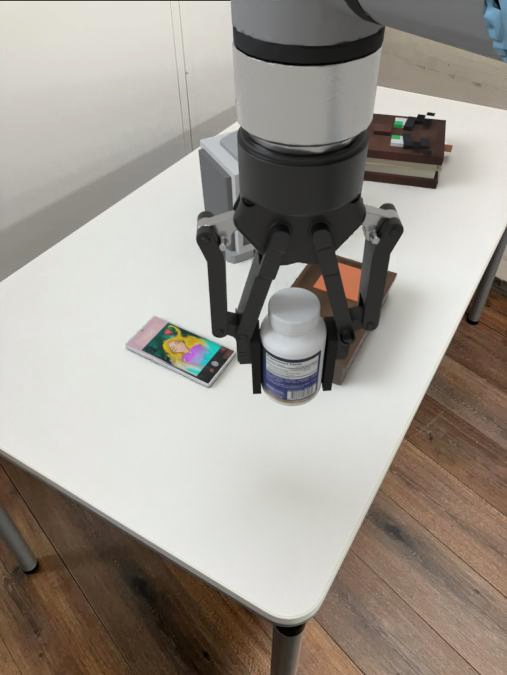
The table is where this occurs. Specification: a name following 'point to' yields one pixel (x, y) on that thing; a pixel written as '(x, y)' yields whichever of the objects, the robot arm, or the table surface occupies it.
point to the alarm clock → (223, 186)
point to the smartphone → (181, 350)
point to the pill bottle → (292, 347)
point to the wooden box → (351, 281)
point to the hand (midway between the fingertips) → (290, 379)
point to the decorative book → (406, 150)
